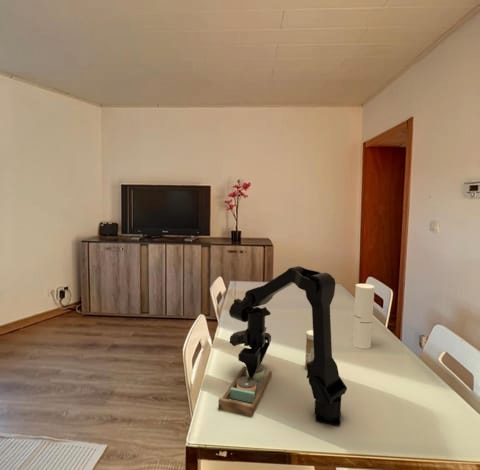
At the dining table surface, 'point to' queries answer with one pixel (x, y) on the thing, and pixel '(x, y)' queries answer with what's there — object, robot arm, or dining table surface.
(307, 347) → the sprinkles bottle
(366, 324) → the cylindrical container
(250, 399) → the pusher
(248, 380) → the terracotta jar
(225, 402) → the lane
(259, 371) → the green jar
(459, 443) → the dining table surface
